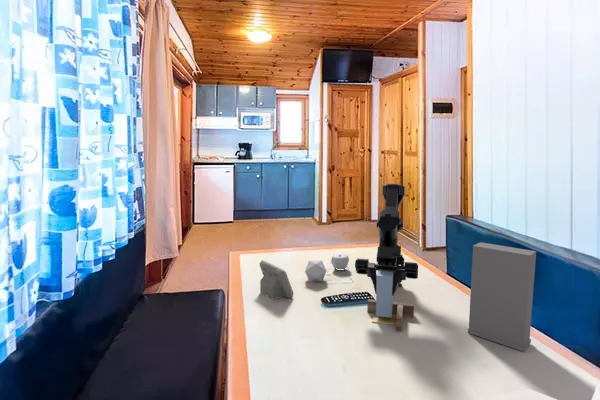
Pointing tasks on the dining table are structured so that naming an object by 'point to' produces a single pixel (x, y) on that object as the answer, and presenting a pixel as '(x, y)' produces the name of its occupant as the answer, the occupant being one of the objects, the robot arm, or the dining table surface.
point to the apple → (340, 261)
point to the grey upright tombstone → (502, 294)
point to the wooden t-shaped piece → (397, 312)
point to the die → (315, 271)
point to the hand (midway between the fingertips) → (384, 294)
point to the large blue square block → (384, 294)
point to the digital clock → (274, 281)
